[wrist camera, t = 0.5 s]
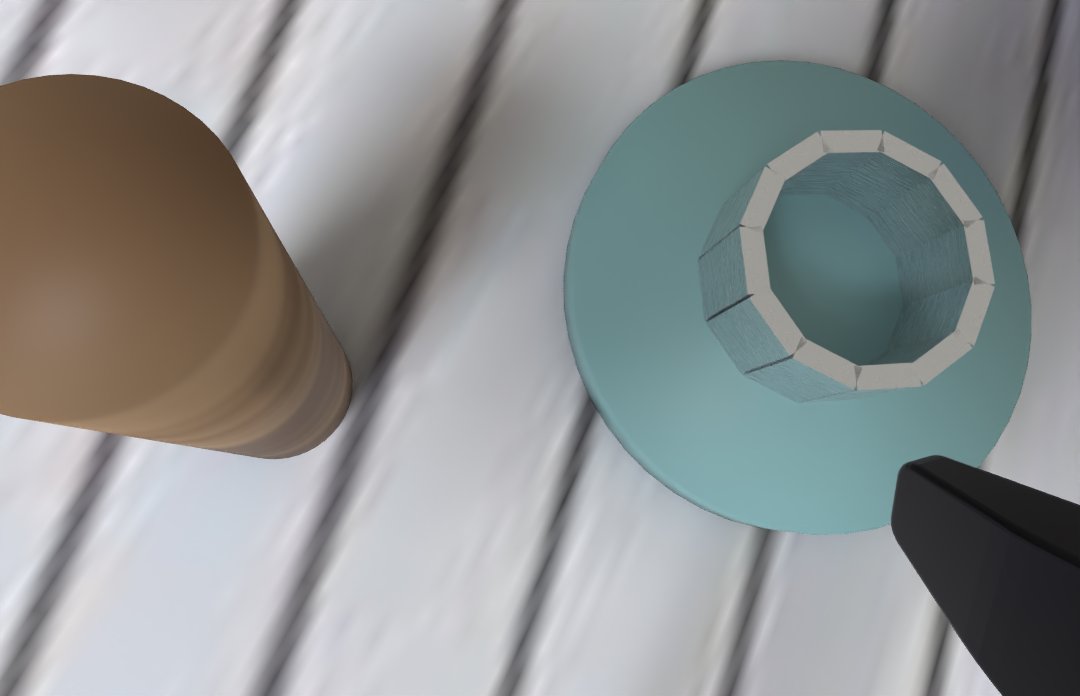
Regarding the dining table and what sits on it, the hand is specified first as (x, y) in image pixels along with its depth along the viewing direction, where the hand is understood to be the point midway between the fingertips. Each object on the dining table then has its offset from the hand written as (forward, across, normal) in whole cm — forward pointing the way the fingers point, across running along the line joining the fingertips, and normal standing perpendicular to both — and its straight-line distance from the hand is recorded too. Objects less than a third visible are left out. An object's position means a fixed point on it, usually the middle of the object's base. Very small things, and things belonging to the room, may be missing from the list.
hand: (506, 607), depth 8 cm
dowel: (+14, +4, +5) cm, 15 cm away
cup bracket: (+14, -12, +5) cm, 19 cm away
